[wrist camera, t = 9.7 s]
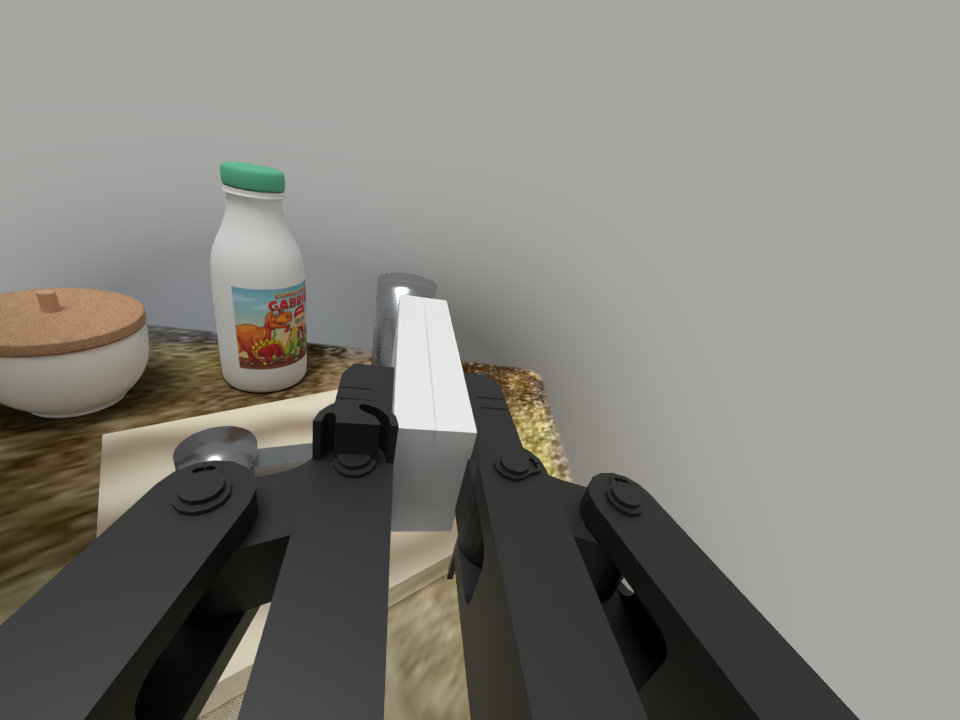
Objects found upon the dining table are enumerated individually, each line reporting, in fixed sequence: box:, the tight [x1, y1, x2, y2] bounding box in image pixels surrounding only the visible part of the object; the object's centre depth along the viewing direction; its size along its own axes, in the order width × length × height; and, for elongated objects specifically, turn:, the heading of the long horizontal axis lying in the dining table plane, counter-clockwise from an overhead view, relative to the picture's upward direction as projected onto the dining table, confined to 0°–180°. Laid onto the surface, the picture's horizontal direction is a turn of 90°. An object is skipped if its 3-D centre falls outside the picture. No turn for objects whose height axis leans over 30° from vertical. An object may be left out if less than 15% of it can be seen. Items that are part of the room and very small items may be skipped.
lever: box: [173, 273, 437, 477], centre depth 25 cm, size 16×4×14 cm, turn 113°
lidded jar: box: [0, 288, 149, 418], centre depth 31 cm, size 11×11×9 cm
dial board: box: [96, 390, 458, 719], centre depth 29 cm, size 20×24×2 cm
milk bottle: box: [210, 162, 307, 392], centre depth 36 cm, size 8×8×20 cm
